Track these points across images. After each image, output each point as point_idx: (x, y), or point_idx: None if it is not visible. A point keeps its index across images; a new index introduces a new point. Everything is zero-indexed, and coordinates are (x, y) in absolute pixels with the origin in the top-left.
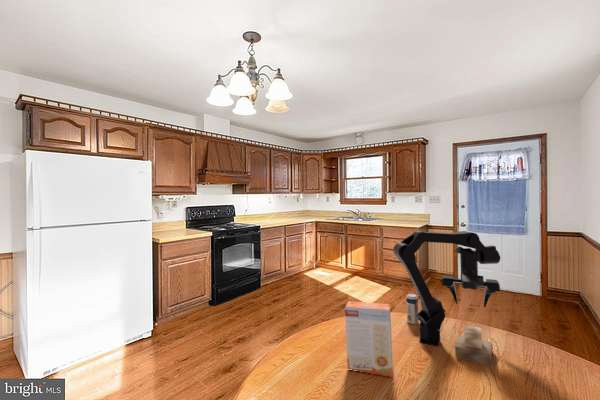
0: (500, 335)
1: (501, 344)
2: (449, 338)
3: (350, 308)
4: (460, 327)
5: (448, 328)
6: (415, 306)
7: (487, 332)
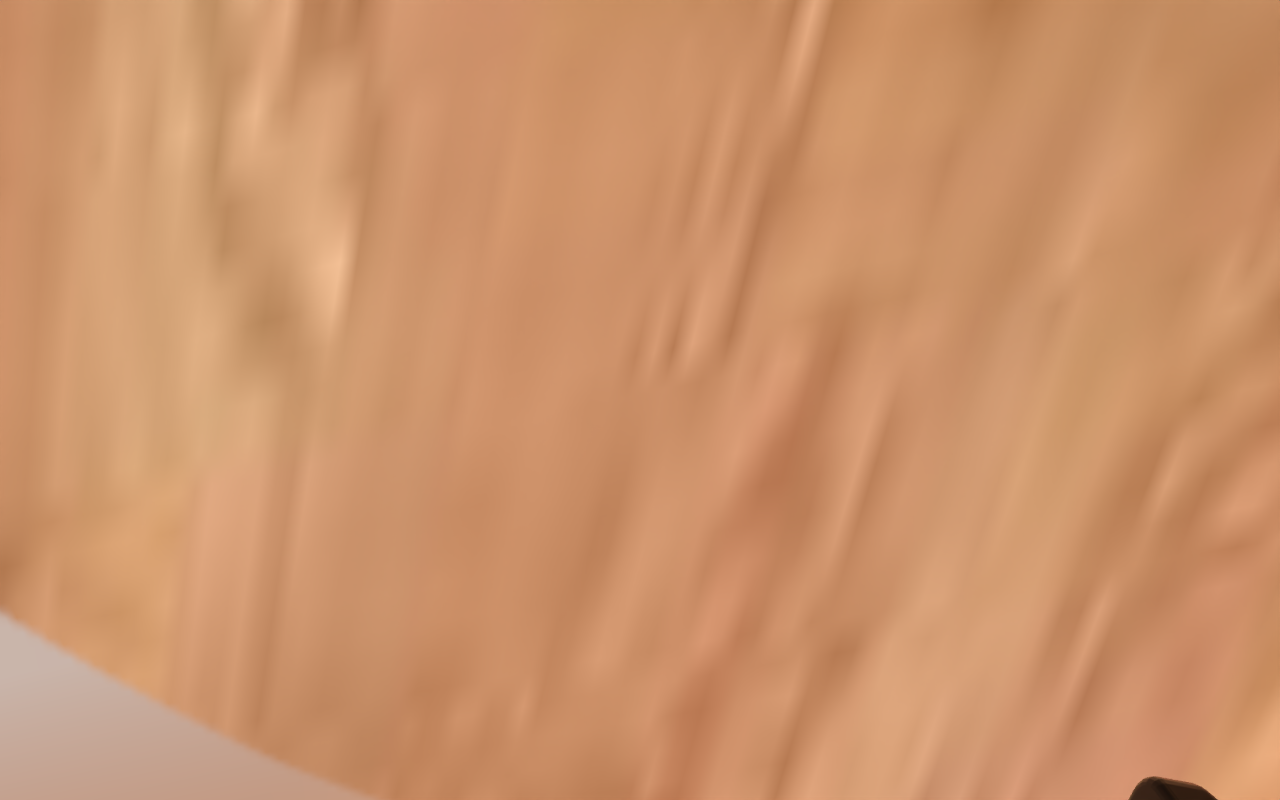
0: (111, 496)
1: (128, 131)
2: (1083, 154)
3: None
4: (727, 660)
5: (959, 584)
6: None
7: (306, 564)
